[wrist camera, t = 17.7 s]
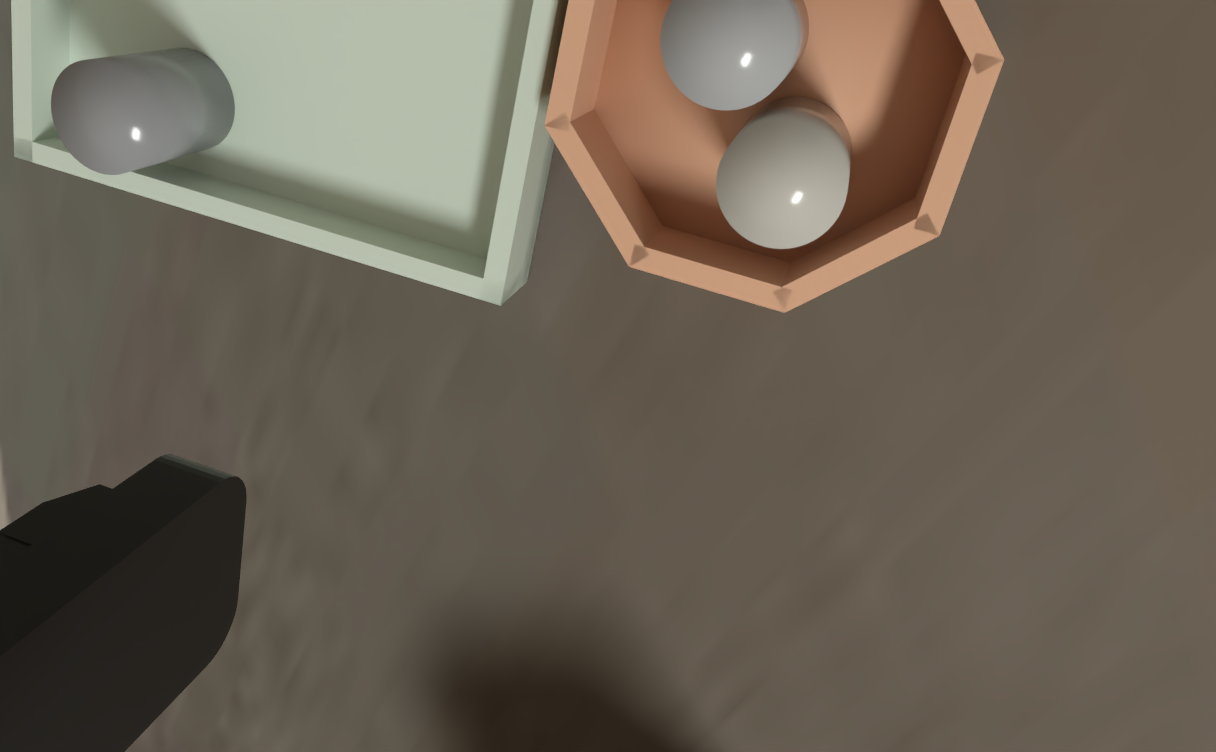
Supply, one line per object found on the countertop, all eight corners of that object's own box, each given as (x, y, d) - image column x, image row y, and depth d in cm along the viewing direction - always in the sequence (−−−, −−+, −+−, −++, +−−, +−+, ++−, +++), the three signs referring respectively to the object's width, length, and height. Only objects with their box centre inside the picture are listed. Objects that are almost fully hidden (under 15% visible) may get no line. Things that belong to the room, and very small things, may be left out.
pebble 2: (705, -45, 34) (675, -45, 29) (823, -20, 33) (811, -16, 28) (680, 76, 35) (648, 94, 31) (792, 101, 34) (776, 124, 30)
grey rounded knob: (147, 35, 39) (50, 46, 35) (238, 62, 39) (152, 76, 34) (143, 135, 41) (51, 158, 36) (231, 161, 40) (148, 188, 36)
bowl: (635, -172, 34) (604, -187, 30) (1037, -78, 32) (1056, -82, 28) (557, 209, 39) (523, 235, 35) (898, 308, 37) (898, 346, 33)
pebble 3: (752, 84, 35) (732, 105, 30) (866, 110, 34) (864, 135, 29) (725, 195, 36) (703, 231, 32) (834, 222, 36) (828, 262, 31)
